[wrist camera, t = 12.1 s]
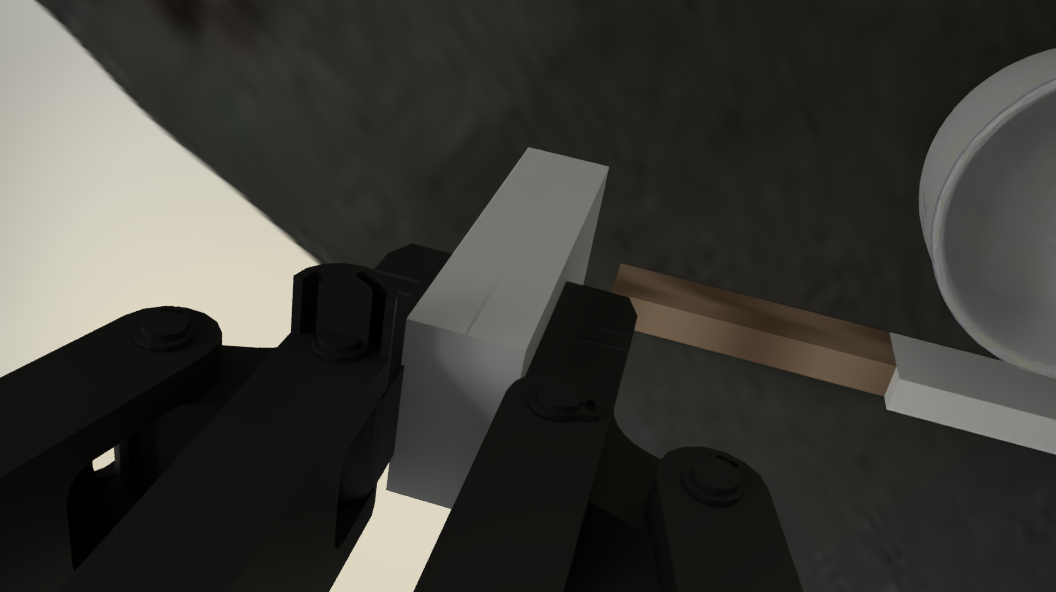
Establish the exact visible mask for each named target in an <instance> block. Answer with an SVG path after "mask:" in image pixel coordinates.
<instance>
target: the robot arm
mask: <svg viewBox="0 0 1056 592" xmlns="http://www.w3.org/2000/svg"><path fill="white" fill-rule="evenodd" d="M608 170H609V167H608V166H604V165H600V164H596V163H591V162H587V161H583V160H579V159H575V158H571V157H567V156H562V155H558V154H554V153H550V152H546V151H542V150H537V149H533V148H529V147H528V149H527V150H526V152H525V153H524V154H523V156H522V157H521V159H520V160H519V161H518V163H517V164H516V166H515V167H514V168H513V170H512V171H511V173H510V174H509V176H508V177H507V178H506V180H505V181H504V183H503V184H502V185H501V187H500V188H499V190H498V191H497V192H496V194H495V195H494V197H493V198H492V199H491V201H490V202H489V204H488V205H487V206H486V208H485V209H484V211H483V212H482V213H481V215H480V216H479V218H478V219H477V220H476V222H475V223H474V225H473V226H472V227H471V229H470V230H469V232H468V233H467V234H466V236H465V237H464V239H463V240H462V242H461V243H460V244H459V246H458V247H457V249H456V250H455V251H454V253H453V254H450V253H446V252H443V251H439V250H435V249H431V248H427V247H423V246H419V245H415V244H412V243H411V244H409V245H407V246H405V247H402V248H400V249H398V250H395V251H393V252H391V253H388V254H387V255H386V256H385V257H384V259H383V260H382V261H381V262H380V263H379V264H378V266H377V267H376V268H375V269H374V270H372V269H370V268H367V267H365V266H359V265H353V264H346V263H332V264H321V265H317V266H313V267H309V268H306V269H304V270H302V271H301V272H299V273H298V274H296V275H294V278H293V280H294V281H293V298H292V299H293V300H292V319H291V320H292V321H291V333H290V334H289V335H288V336H287V337H286V338H285V339H284V341H282V343H281V344H280V345H279V346H278V347H275V348H254V347H240V346H225V345H222V332H221V329H220V327H219V325H218V323H217V322H216V321H215V320H214V319H212V318H211V317H209V316H208V315H206V314H205V313H202V312H199V311H195V310H192V309H189V308H184V307H174V306H161V307H154V308H145V309H142V310H139V311H136V312H133V313H130V314H127V315H124V316H122V317H120V318H118V319H117V320H115V321H113V322H111V323H109V324H107V325H105V326H103V327H101V328H99V329H97V330H95V331H93V332H91V333H89V334H87V335H85V336H83V337H81V338H79V339H77V340H75V341H73V342H71V343H69V344H67V345H65V346H63V347H61V348H59V349H57V350H55V351H53V352H51V353H49V354H47V355H45V356H43V357H41V358H39V359H37V360H35V361H33V362H31V363H29V364H27V365H25V366H23V367H21V368H19V369H17V370H15V371H13V372H11V373H9V374H7V375H5V376H3V377H1V378H0V592H329V591H330V589H331V587H332V586H333V584H334V582H335V580H336V578H337V577H338V575H339V573H340V571H341V570H342V568H343V566H344V564H345V562H346V561H347V559H348V557H349V555H350V553H351V552H352V550H353V548H354V546H355V545H356V543H357V541H358V539H359V537H360V535H361V534H362V532H363V530H364V528H365V527H366V525H367V523H368V521H369V519H370V517H371V516H372V512H373V508H374V504H375V497H376V488H377V482H378V480H379V479H380V477H381V475H382V473H383V472H384V470H385V468H386V467H387V465H388V463H389V461H390V463H389V472H388V480H387V488H386V490H388V491H391V492H395V493H398V494H402V495H405V496H409V497H412V498H415V499H419V500H422V501H426V502H429V503H433V504H436V505H440V506H443V507H446V508H450V509H451V511H450V514H449V516H448V518H447V520H446V522H445V524H444V527H443V529H442V531H441V533H440V535H439V538H438V540H437V542H436V544H435V546H434V548H433V550H432V553H431V555H430V557H429V560H428V561H427V563H426V566H425V568H424V570H423V572H422V574H421V576H420V579H419V581H418V583H417V585H416V587H415V590H414V592H803V589H802V586H801V583H800V580H799V577H798V575H797V572H796V569H795V566H794V563H793V560H792V557H791V554H790V551H789V548H788V545H787V542H786V539H785V536H784V533H783V530H782V527H781V524H780V521H779V518H778V515H777V512H776V509H775V506H774V504H773V501H772V498H771V495H770V492H769V490H768V488H767V486H766V485H765V483H764V481H763V480H762V478H761V476H760V475H759V474H758V473H757V472H755V471H754V470H753V469H752V468H751V467H750V466H748V465H747V464H746V463H745V462H743V461H741V460H739V459H737V458H735V457H733V456H731V455H729V454H727V453H725V452H722V451H718V450H714V449H710V448H706V447H682V448H679V449H676V450H673V451H670V452H667V453H666V455H665V456H664V457H663V458H662V459H659V458H657V457H655V456H653V455H651V454H649V453H648V452H646V451H645V450H643V449H641V448H640V447H638V446H637V445H635V444H634V443H633V442H632V441H631V440H630V439H628V438H627V437H626V436H625V435H624V434H623V432H622V431H621V429H620V428H619V427H618V425H617V423H616V420H615V417H614V406H615V402H616V399H617V395H618V391H619V387H620V383H621V379H622V376H623V372H624V368H625V364H626V360H627V356H628V352H629V348H630V345H631V341H632V337H633V333H634V329H635V325H636V321H637V318H638V316H637V313H636V311H635V309H634V307H633V305H632V303H631V300H630V298H629V297H627V296H623V295H619V294H615V293H611V292H608V291H604V290H600V289H596V288H592V287H588V286H584V285H583V283H584V278H585V274H586V269H587V265H588V260H589V256H590V251H591V247H592V242H593V238H594V233H595V229H596V224H597V220H598V215H599V211H600V206H601V201H602V197H603V192H604V188H605V183H606V179H607V174H608ZM113 447H114V454H115V461H113V462H112V463H110V464H109V465H107V466H106V467H104V468H102V469H99V470H97V471H94V469H93V464H92V461H93V460H94V459H96V458H97V457H99V456H100V455H102V454H104V453H105V452H107V451H108V450H110V449H112V448H113Z"/></svg>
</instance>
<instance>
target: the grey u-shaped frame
mask: <svg viewBox="0 0 1056 592" xmlns="http://www.w3.org/2000/svg"><path fill="white" fill-rule="evenodd" d="M890 337H891V342H892V346H893V351H894V356H895V360H896V365H897V367H896V369H895V372H894V374H893V377H892V379H891V381H890V384H889V386H888V389H887V391H886V393H885V396H884V398H885V404H886V409H887V410H891V411H894V412H898V413H902V414H906V415H909V416H913V417H917V418H921V419H924V420H928V421H932V422H936V423H939V424H943V425H947V426H951V427H954V428H958V429H962V430H966V431H969V432H973V433H977V434H981V435H984V436H988V437H992V438H996V439H999V440H1003V441H1007V442H1011V443H1014V444H1018V445H1022V446H1026V447H1029V448H1033V449H1037V450H1041V451H1044V452H1048V453H1052V454H1056V379H1052V378H1049V377H1046V376H1044V375H1038V374H1036V373H1034V372H1031V371H1024V370H1022V369H1020V368H1018V367H1016V366H1014V365H1010V364H1008V363H1006V362H1004V361H1000V360H996V359H992V358H989V357H985V356H981V355H977V354H973V353H969V352H965V351H961V350H957V349H953V348H950V347H946V346H942V345H938V344H934V343H930V342H926V341H922V340H918V339H914V338H911V337H907V336H903V335H899V334H895V333H891V332H890Z"/></svg>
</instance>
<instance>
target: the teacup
mask: <svg viewBox="0 0 1056 592" xmlns="http://www.w3.org/2000/svg"><path fill="white" fill-rule="evenodd" d="M919 214H920V220H921V226H922V231H923V235H924V239H925V243H926V246H927V249H928V252H929V255H930V257H931V260H932V264H933V269H934V273H935V277H936V280H937V283H938V286H939V289H940V292H941V294H942V296H943V298H944V300H945V302H946V304H947V306H948V308H949V310H950V311H951V312H952V314H953V315H954V317H955V319H956V321H957V322H958V323H959V324H960V325H961V326H962V327H963V328H964V329H965V331H966V332H967V333H968V334H969V335H970V336H971V337H972V338H973V339H974V340H975V341H976V342H977V343H978V344H979V345H980V346H982V347H984V348H986V349H987V350H988V351H989V352H990V353H992V354H993V355H995V356H997V357H998V358H1000V359H1001V360H1003V361H1005V362H1006V363H1008V364H1010V365H1014V366H1016V367H1018V368H1020V369H1022V370H1024V371H1031V372H1034V373H1036V374H1038V375H1044V376H1046V377H1049V378H1052V379H1056V48H1055V49H1051V50H1047V51H1043V52H1040V53H1037V54H1034V55H1031V56H1029V57H1026V58H1024V59H1022V60H1020V61H1018V62H1015V63H1013V64H1011V65H1009V66H1007V67H1005V68H1003V69H1002V70H1000V71H998V72H997V73H995V74H993V75H992V76H990V77H989V78H988V79H986V80H985V81H984V82H982V83H981V84H980V85H978V86H977V87H976V88H974V89H973V90H972V91H971V92H970V93H969V94H968V95H967V96H966V97H965V98H964V99H963V100H962V101H961V102H960V103H959V104H958V105H957V106H956V107H955V108H954V109H953V111H952V112H951V113H950V114H949V116H948V117H947V118H946V120H945V121H944V123H943V124H942V126H941V127H940V129H939V130H938V132H937V134H936V136H935V138H934V140H933V142H932V144H931V146H930V149H929V151H928V154H927V156H926V159H925V162H924V166H923V171H922V175H921V180H920V188H919Z"/></svg>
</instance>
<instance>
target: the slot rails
mask: <svg viewBox="0 0 1056 592" xmlns="http://www.w3.org/2000/svg"><path fill="white" fill-rule="evenodd" d="M611 293H615V294H619V295H623V296H627V297H629V298H630V300H631V303H632V305H633V307H634V309H635V311H636V313H637V316H638V318H637V321H636V325H635V329H634V330H636V331H639V332H643V333H647V334H651V335H654V336H658V337H662V338H666V339H669V340H673V341H677V342H681V343H685V344H688V345H692V346H696V347H700V348H703V349H707V350H711V351H715V352H718V353H722V354H726V355H730V356H734V357H737V358H741V359H745V360H749V361H752V362H756V363H760V364H764V365H768V366H771V367H775V368H779V369H783V370H786V371H790V372H794V373H798V374H801V375H805V376H809V377H813V378H817V379H820V380H824V381H828V382H832V383H835V384H839V385H843V386H847V387H850V388H854V389H858V390H862V391H866V392H869V393H873V394H877V395H881V396H885V393H886V391H887V389H888V386H889V384H890V381H891V379H892V377H893V374H894V372H895V369H896V367H897V365H896V360H895V356H894V351H893V346H892V342H891V337H890V332H887V331H883V330H879V329H875V328H872V327H868V326H864V325H860V324H856V323H852V322H848V321H844V320H840V319H836V318H832V317H829V316H825V315H821V314H817V313H813V312H809V311H805V310H801V309H797V308H793V307H790V306H786V305H782V304H778V303H774V302H770V301H766V300H762V299H758V298H754V297H751V296H747V295H743V294H739V293H735V292H731V291H727V290H723V289H719V288H715V287H712V286H708V285H704V284H700V283H696V282H692V281H688V280H684V279H680V278H676V277H673V276H669V275H665V274H661V273H657V272H653V271H649V270H645V269H641V268H637V267H634V266H630V265H626V264H622V263H621V266H620V268H619V271H618V274H617V277H616V279H615V282H614V285H613V288H612V290H611Z"/></svg>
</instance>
